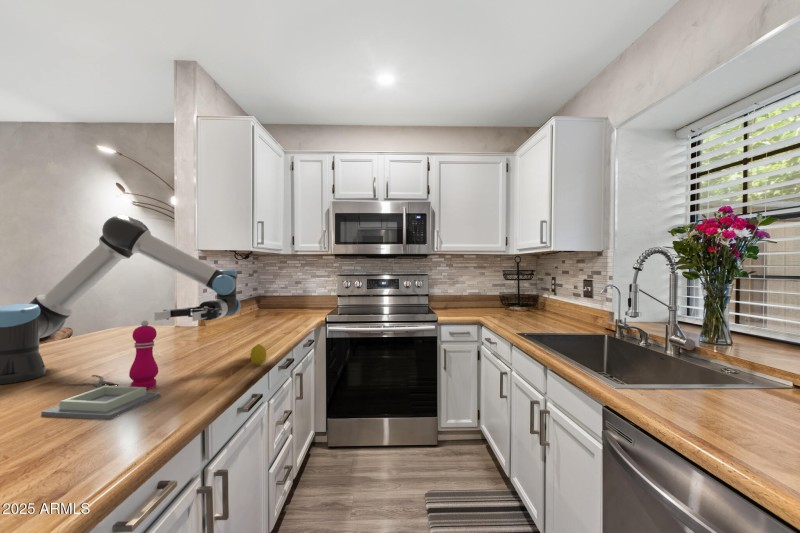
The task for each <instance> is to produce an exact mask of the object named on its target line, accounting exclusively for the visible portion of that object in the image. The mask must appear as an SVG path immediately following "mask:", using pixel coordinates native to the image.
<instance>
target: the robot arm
mask: <svg viewBox="0 0 800 533" xmlns="http://www.w3.org/2000/svg"><path fill="white" fill-rule="evenodd" d="M101 228H102V229H101V230H102V235H101V236H100V237H99V238H98V242H99V244H98V246H96V247H95V248H94V249H93V250H92V251H91V252H90V253H89V254H88V255H86V256H85V257H84V258H83V259H82V260H81V261H80V262H79V263H78V264H77V265H76V266H75V267H73V269H71V270H70V272H68V273H67V274H66V275H65V276H64V277H63V278H62V279H60V281H59V282H57V283H56V285H54V286H53V287H52V288H50V290H49V291H48V292H47V293H45V294H38V295H36V297H34V299H32V300H31V301H30V302H29V303H13V304H8V305H7V304H6V305H0V385H6V384H14V383H15V384H16V383H20V382H25V381H31V380H34V379H37V378H41V377H43V376H45V375H46V373H47V368H46V365H45V363H44V360H43V357H42V355H41V353H40V339H41V338H46V337H49V336H52V335H53V334H56V333H57V332H58V331H59V330H60V329H62V328H63V327H64V325H65V323H66V322H67V321H66V320H68V318H69V317H70V316H71V315H72V314H73V311H72V308H73V307H74V306H75V305H76V304H77V303H78V302H79V301H80V300H81V299H82V298H83V297H85V295H86V294H87V293H88V292H89V291H90V290H92V288H94V287H95V286H96V284H98V282H100V281H101V280H102V278H104V277H105V276H106V275H107V274H108V273H109V272H110V271H111V270H112V269H113V268H114V267H115V266H116V265H118V264H119V263H120V261H122V260H126V259H127V260H129V259H130V258H131V257H132V256H133V255H134V254H140V255H142V256H144V257H146V258H149V259H150V260H152V261H154V262H156V263H159V264H160V265H162V266H164V267H166V268H168V269H171V270H172V271H173V272H174V271H175V272H177V273H179V274H181V275H183V276H185V277H186V278H189V279H190V280H192V281H195V282H196V283H198V284H201V285H203V286H205V287H206V288H208V289H210V290H212V291H214V292H215V293H216V299H210V300H205V301H202V302H201V303H200V304H199V305H198V306H194V307H185V308H184V307H183V308H173V309H163V310H162V311H155V312H154V321H161V320H170V319H171V318H176V317H188V318H192V322H197V321H201V320H204V321H212V320H216V321H218V320H219V319H221V318H224V317H230V316H231V317H232V316H234V315H236V314H238V313H239V312H240V310H241V308H242V304H241V301H240V299H238V298H237V277H238V276H237V270H235V269H217V268H215V267H213V266H211V265H209V264H207V263H206V262H203V261H202V260H200V259H198V258H195V257H194V256H192V255H190V254H188V253H186V252H184V251H183V250H180V249H179V248H176V247H175V246H174V245H173V246H172V244H169V243H168V242H166V241H163V240H162V239H159V238H158V237H156V236H154V235H152V233H151V231H150V230H149V227H148V226H147V225H146V224H145V223H144V222H142V221H140V220H139V219H135V218H132V217H130V216H127V215H115V216H112V217H111V218H108V219H107V220H106V221H105V222H104V224H103V225H102V227H101Z"/></svg>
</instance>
